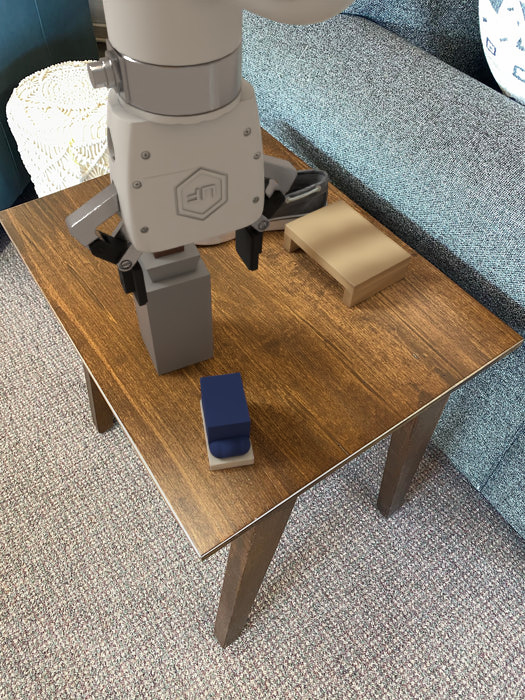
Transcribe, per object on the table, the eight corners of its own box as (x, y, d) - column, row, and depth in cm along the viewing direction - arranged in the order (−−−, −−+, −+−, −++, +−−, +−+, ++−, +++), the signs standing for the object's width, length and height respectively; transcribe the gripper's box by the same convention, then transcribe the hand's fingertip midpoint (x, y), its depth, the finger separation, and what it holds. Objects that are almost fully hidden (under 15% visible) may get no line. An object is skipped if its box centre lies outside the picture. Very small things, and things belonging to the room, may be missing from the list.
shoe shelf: (404, 277, 76) (412, 255, 73) (349, 308, 72) (354, 286, 69) (336, 221, 83) (340, 199, 80) (282, 246, 79) (285, 224, 76)
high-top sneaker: (200, 405, 62) (198, 375, 58) (240, 399, 63) (241, 370, 59) (210, 471, 58) (208, 444, 53) (253, 464, 58) (255, 437, 54)
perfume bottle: (140, 333, 68) (117, 213, 54) (193, 317, 70) (184, 197, 56) (158, 375, 65) (138, 258, 51) (213, 357, 67) (209, 239, 52)
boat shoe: (162, 251, 77) (156, 202, 71) (157, 211, 83) (150, 161, 76) (333, 235, 81) (342, 186, 75) (318, 197, 86) (325, 149, 80)
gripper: (45, 131, 29) (104, 342, 42) (336, 71, 34) (306, 276, 48) (15, 65, 33) (78, 277, 46) (279, 21, 38) (266, 223, 52)
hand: (193, 276), depth 47 cm, fingers open, 9 cm apart
